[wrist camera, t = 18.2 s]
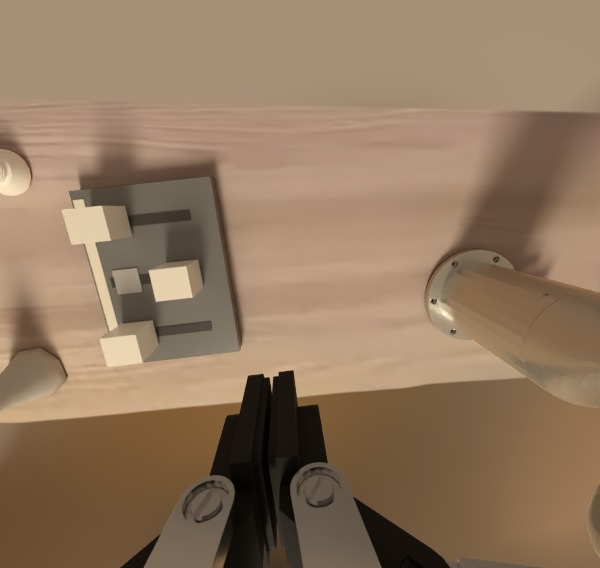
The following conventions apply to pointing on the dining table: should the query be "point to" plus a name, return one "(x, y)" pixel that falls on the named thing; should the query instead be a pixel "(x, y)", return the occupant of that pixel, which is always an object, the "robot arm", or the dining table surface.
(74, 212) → the tab
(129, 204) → the switch panel
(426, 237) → the dining table surface
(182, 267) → the tab
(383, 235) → the dining table surface
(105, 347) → the cream cube
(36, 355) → the flask
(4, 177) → the upside-down white bowl
